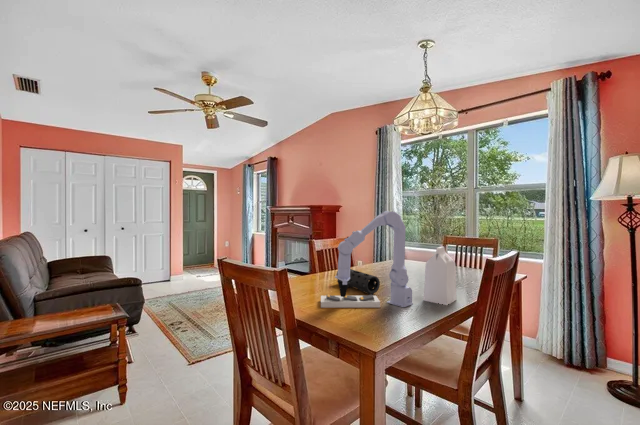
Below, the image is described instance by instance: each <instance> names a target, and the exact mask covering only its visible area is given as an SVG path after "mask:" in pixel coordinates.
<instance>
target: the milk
mask: <svg viewBox="0 0 640 425" xmlns="http://www.w3.org/2000/svg"><path fill="white" fill-rule="evenodd" d="M456 269H457V268H456V262H455V261H454V259H453V258H452V257H451V256H450V255H449V254H448V253H447V252H446V248H445V246H439V247H436V251H435V254H433V256H431V257H430V258H429V259H427V260H426V263H425V269H424V270H425V271H424V283H423V284H424V285H423V298H422V299H423V301H425V302H428V303H429V302H430V303H434V304H438V303H439V305H442V304H443V305H442V306H448V304H449V305H451V304H452V303H454V302H455V301H457V275H456V274H457V272H456Z"/></svg>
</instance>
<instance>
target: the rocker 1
mask: <svg viewBox="0 0 640 425" xmlns="http://www.w3.org/2000/svg"><path fill="white" fill-rule="evenodd" d="M325 296H326V299H329V300H332V301H339V297H335V296H336V295H331V294H326V295H325Z"/></svg>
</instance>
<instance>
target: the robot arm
mask: <svg viewBox="0 0 640 425" xmlns="http://www.w3.org/2000/svg"><path fill="white" fill-rule="evenodd" d="M381 226H388V227H389V228H390V229H392V231H393V255H392V256H393V259H392V260H393V261H392V262H393V263H392V265H391V269H390V272H389V273H388V276H389V279H390V280H391V282H390V300H388V301H386V303H387V304H390V305H393V306H396V307H400V308H406V307H409V306H411V305H414V303H413V289H412V287H410V286H408V285H407V284H408V283H409V276H408V273H407V268H406V265H405V264H406V263H405V260H406V258H405V257H406V256H405V255H406V225H405V223H404V221H403V219H402V218H401V215H400V214H399V213H397V212H396V211H389V210H385V211H382V212H381V213H380V214H378V215H377V216H375V217H374V218H373V219H372V220H371V221H370V222H369V223H367V224H366V225H365V226H364V227H363V228H362V229H361V230H356V231H354V230H353V231H352V234H351V235H349V236H347V238H344V239H343V240H342V241H340V242H339V243H338V246H337V249H338V261H337V271H338V276H336V275H335V276H334V278H335V279H337V278H338V279H339V280H338V279H337V281H336V282H337V285H338V287H339V294H340V295H339V296H341V297H344V296H346V295H347V291H348V288H349V287H348V286H349V284H350V281H349V280H350V269H351V261H352V260H351V259H352V258H351V257H352V256H351V255H352V253H353V250H354V249H356V247H358V246H359V245H361V243H363V242H364V241H365V238H366V236H367V235H369V234H371V232H372V231H374V230H375V229H376V228H378V227H381Z"/></svg>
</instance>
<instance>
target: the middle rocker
mask: <svg viewBox="0 0 640 425" xmlns="http://www.w3.org/2000/svg"><path fill="white" fill-rule="evenodd" d="M354 296H355V295H347V294H346V296H344V297H343V299H344V300H350V301H357V298H356V297H354Z"/></svg>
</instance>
